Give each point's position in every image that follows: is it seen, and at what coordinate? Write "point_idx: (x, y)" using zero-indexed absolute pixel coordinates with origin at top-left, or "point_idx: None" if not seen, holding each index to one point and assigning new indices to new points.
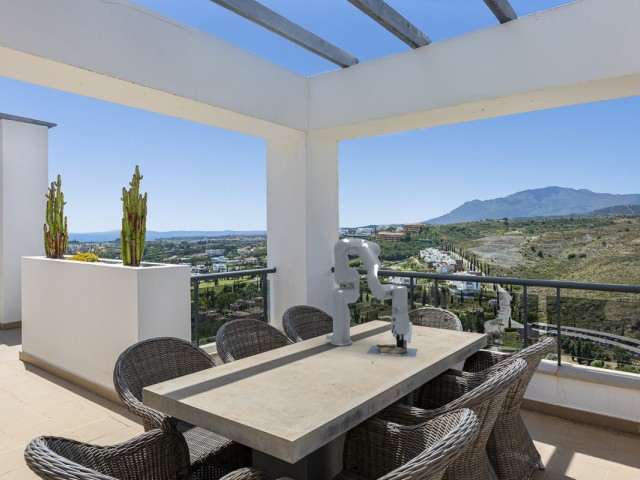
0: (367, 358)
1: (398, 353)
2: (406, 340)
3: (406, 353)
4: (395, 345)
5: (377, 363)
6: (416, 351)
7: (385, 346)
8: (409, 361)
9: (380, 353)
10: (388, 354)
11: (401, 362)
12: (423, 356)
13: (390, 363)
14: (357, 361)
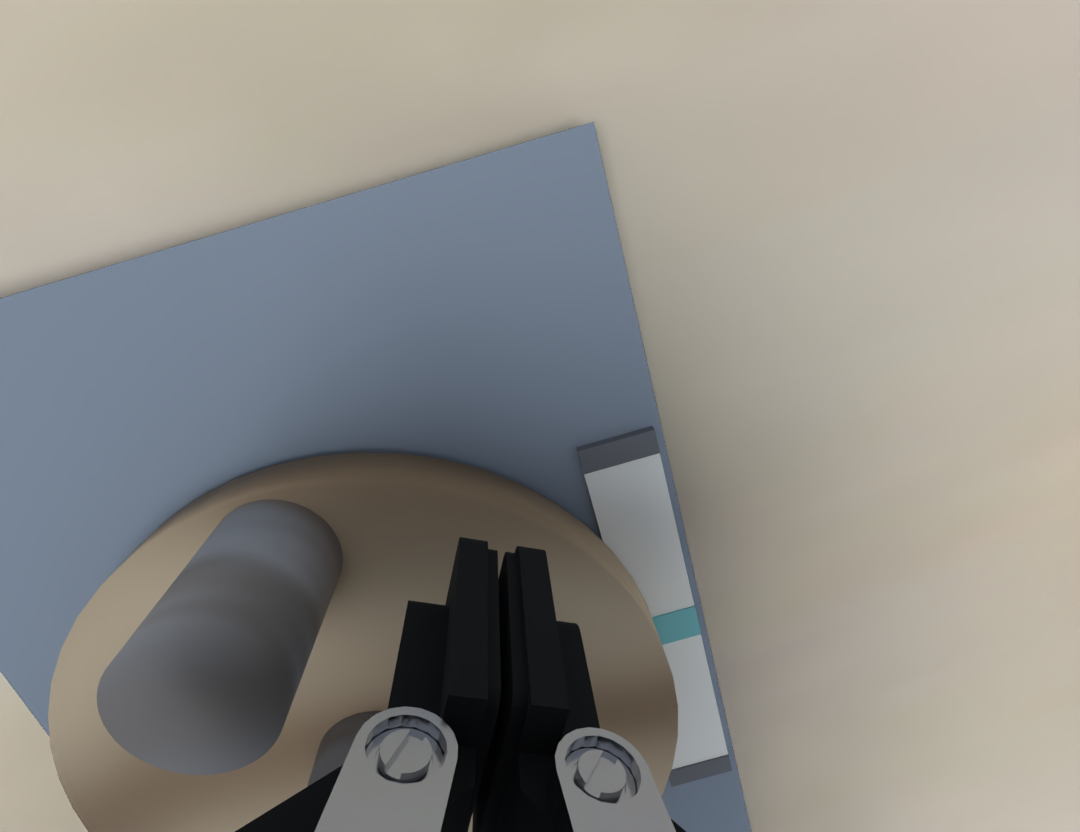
0: (846, 802)
1: (586, 527)
2: (147, 650)
3: (404, 421)
4: (171, 787)
5: (1063, 598)
6: (63, 297)
7: None
8: (740, 200)
9: (708, 764)
10: (704, 647)
11: (875, 310)
12: (147, 68)
13: (1005, 444)
14: (1038, 820)
